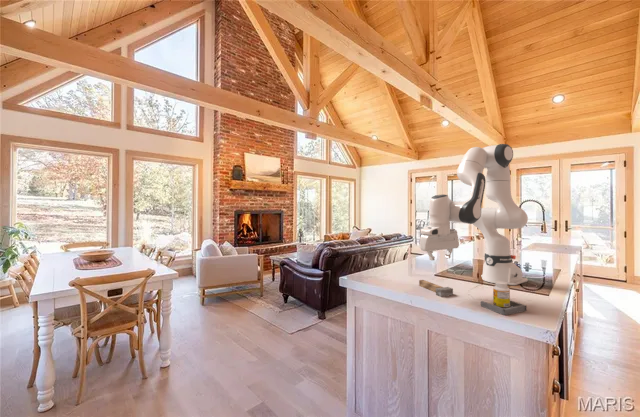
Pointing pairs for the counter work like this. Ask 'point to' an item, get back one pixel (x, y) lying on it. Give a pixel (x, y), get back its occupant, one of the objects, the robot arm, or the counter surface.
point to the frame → (514, 309)
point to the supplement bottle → (501, 295)
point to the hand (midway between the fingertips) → (440, 259)
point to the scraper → (436, 288)
